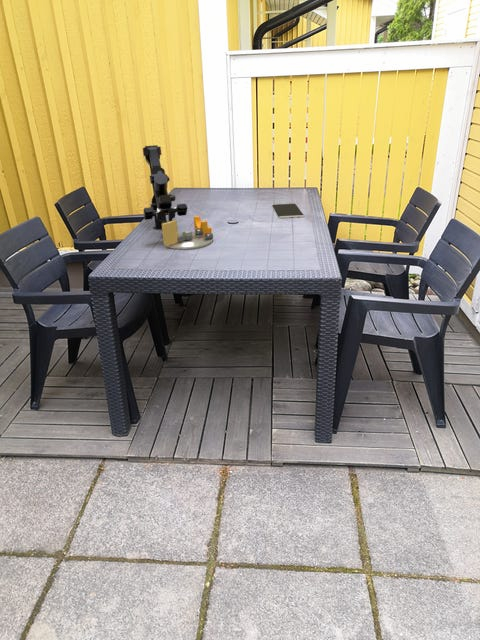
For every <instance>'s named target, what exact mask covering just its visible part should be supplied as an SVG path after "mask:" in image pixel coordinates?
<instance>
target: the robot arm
mask: <svg viewBox="0 0 480 640" xmlns="http://www.w3.org/2000/svg"><path fill="white" fill-rule="evenodd" d="M161 148H162V147H161V146H159V145H155V144H153V145H145V146H144V147H142V155H143V157H144V158H145V159H144V160H145V163H147V164H148V166H149V171H150V172H149V173H150V175H149V182H150V184H151V185H152V193H153V196H152V198H151V201H150V206H148V207H144V208H143V219H144V220H145V221H148V220H152V219H153V218H154V226H152V228H153V229H156V230H157V229H159V230H162V224H163V223H167V222H170V221H173V219H175V218H176V214H177V216H179V217H181V216H186V215H187V213H188V206H187V204H186V203H178V204H177V205H176V207H173V206H172V205H173V203H172V202H175V201H176V195H175V193H174V192H171V193H169V192H168V185H169V184H168V183H169V182H170V177H169V176H168V174H166V172H165V169H164V168H163V167H162V165H161V155H163V154H162V149H161ZM167 216H168V217H167ZM167 218H168V219H167ZM167 220H168V221H167Z"/></svg>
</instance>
